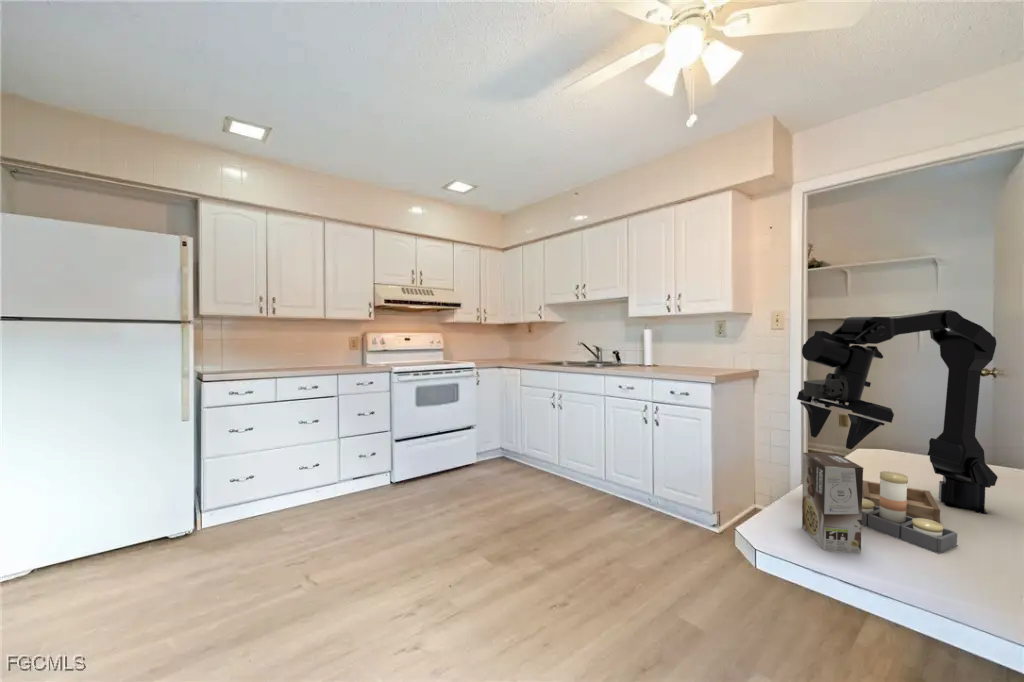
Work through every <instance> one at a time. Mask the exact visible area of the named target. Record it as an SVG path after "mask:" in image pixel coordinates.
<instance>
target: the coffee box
mask: <svg viewBox="0 0 1024 682" xmlns="http://www.w3.org/2000/svg"><path fill="white" fill-rule="evenodd" d="M863 480H864V466H863V467H862V466H861V465H859V464H857V463H856V462H853V461H851V459H850V460H849V459H848V458H846V457H844V456H843V455H840V454H839V453H835V452H833V453H832V452H802V483H801V484H802V492H801V493H802V496H801V497H802V502H801V503H802V505H801V507H802V509H801V514H802V515H801V517H802V518H801V519H802V520H801V529H802V530H803V531H804V532H805V534H807V535H808V536H809V537H810V538H811V539H812V540H813V541H814V543H816V545H818V546H819V547H820V548H821V550H823V551H828V552H837V553H838V552H839V553H850V554H861V553H862V551H861V550H862V549H861V548H862V527H863V526H862V490H863Z"/></svg>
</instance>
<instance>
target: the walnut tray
mask: <svg viewBox="0 0 1024 682" xmlns="http://www.w3.org/2000/svg"><path fill="white" fill-rule="evenodd" d="M879 497H880V482H876V481H869V480H864V479H863V490H862V498H864V499H868V500H870V501H872V502H874V505H875V506H879V507H880V505H879ZM906 516H909V517H912V518H924V519H929V520H933V521H936V522H938V523H940V522H941V509H940V507H939V505H938V504H937V502H936V500H935V498H934V496H933V495H932V493H931V491H930V490H926V489H919V488H913V487H907V510H906ZM940 524H941V523H940Z"/></svg>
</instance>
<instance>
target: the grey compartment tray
mask: <svg viewBox="0 0 1024 682" xmlns="http://www.w3.org/2000/svg"><path fill="white" fill-rule="evenodd" d="M879 509H880V507H879V506H875V505H874V510H873V511H872V512H869V513H865V512H862V527H865V528H867V529H870V530H874V531H875V532H877V533H882V534H884V535H886V536H889V537H891V538H894V539H897V540H900V541H902V542H905V543H907V544H911V545H913V546H916V547H918V548H921V549H924V550H926V551H930V552H931V553H934V554H937V555H941V554H943V553H945V552H947V551H950V550H952V549H955V548H956V547H959V545H958V532H956V531H954V530H951V529H948V528H945V527H943V532H942V537H939V538H937V537H934V536H931V535H928V534H925V533H923V532H920V531H917V530H914V529H913V524H912V519H914V518H912V517H909V516H906V523H903V524H897V523H894V522H891V521H888V520H885V519H882V518H880V517H879Z"/></svg>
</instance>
